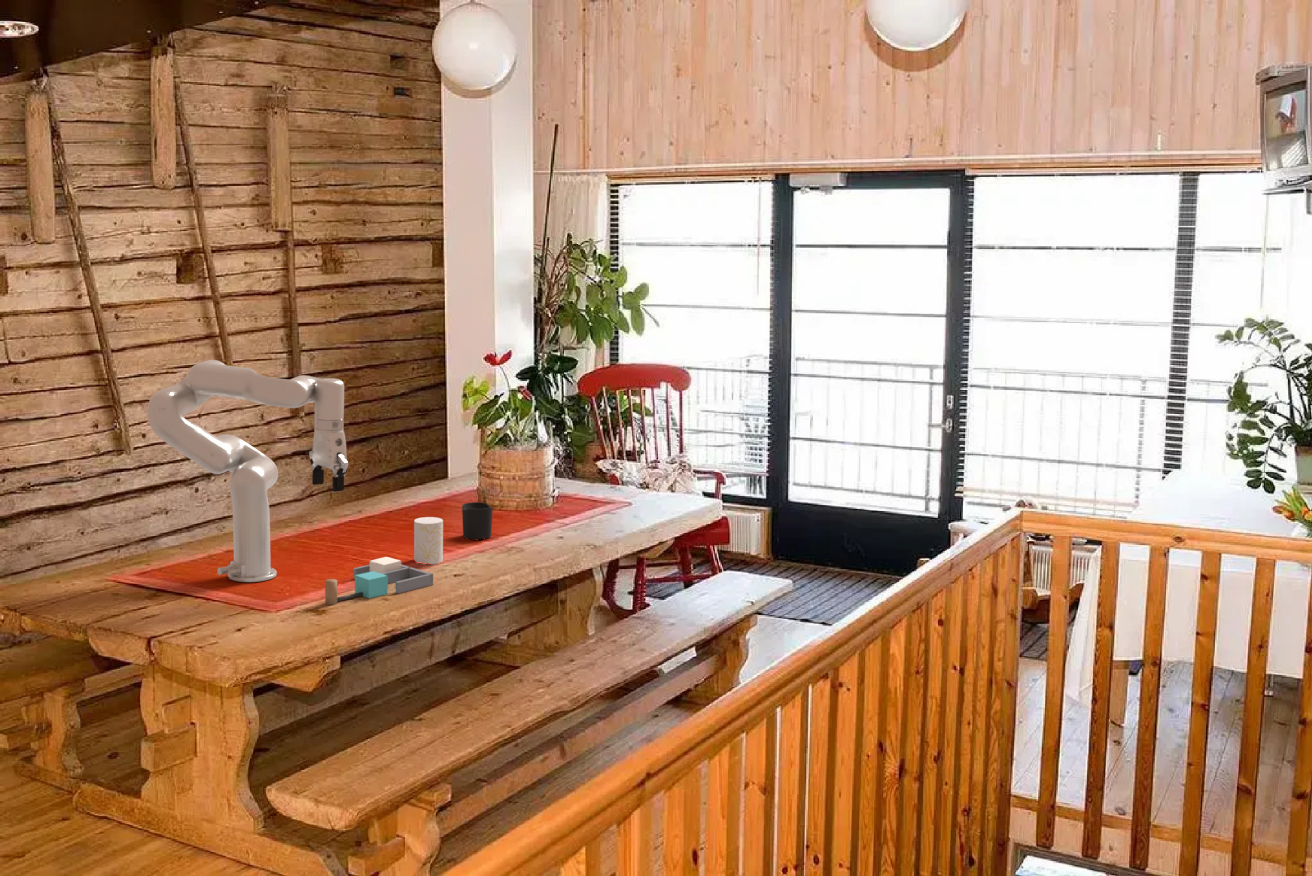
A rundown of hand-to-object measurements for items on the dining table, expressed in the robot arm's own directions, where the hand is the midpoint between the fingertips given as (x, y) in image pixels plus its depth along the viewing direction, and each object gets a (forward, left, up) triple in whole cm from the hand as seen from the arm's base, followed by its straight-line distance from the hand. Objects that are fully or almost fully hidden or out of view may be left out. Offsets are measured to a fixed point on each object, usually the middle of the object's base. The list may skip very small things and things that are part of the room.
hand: (327, 487), depth 350 cm
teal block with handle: (-6, -19, -25) cm, 32 cm away
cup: (+32, -4, -26) cm, 41 cm away
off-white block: (+12, -9, -26) cm, 30 cm away
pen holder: (+61, +7, -26) cm, 66 cm away
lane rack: (+11, -14, -26) cm, 31 cm away
